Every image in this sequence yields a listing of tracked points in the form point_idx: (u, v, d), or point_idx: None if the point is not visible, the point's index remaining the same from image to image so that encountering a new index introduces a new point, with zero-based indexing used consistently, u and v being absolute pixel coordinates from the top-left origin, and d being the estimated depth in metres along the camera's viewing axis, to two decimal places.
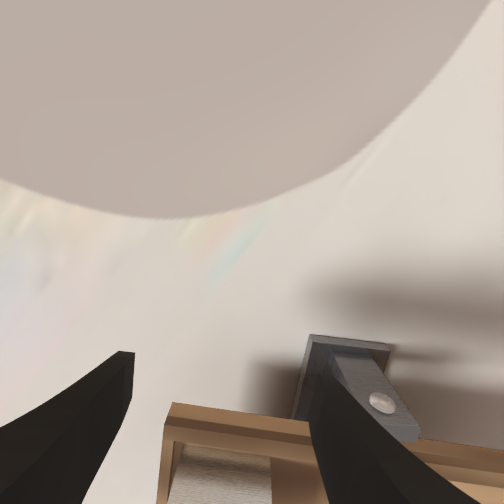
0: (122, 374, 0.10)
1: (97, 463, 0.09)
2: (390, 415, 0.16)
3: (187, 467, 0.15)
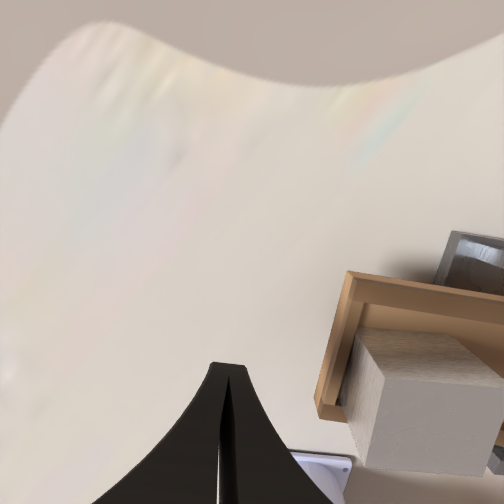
0: (226, 385, 0.10)
1: None
2: None
3: (371, 340, 0.14)
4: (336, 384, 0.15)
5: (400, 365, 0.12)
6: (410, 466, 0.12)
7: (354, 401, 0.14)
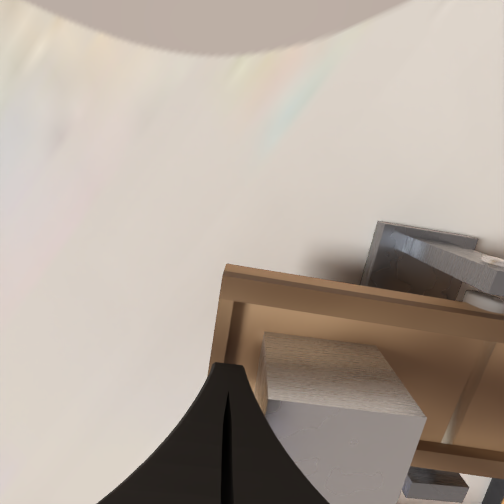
0: None
1: None
2: None
3: (278, 350, 0.12)
4: None
5: (296, 383, 0.10)
6: None
7: None
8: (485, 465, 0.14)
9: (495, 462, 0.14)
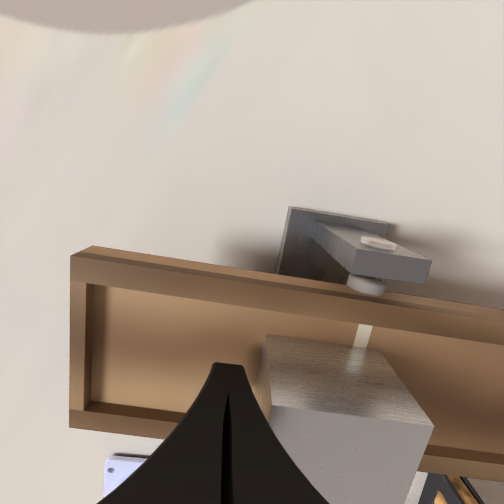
0: None
1: None
2: (389, 249, 0.12)
3: (280, 353, 0.11)
4: (79, 385, 0.12)
5: (300, 388, 0.10)
6: None
7: None
8: None
9: None
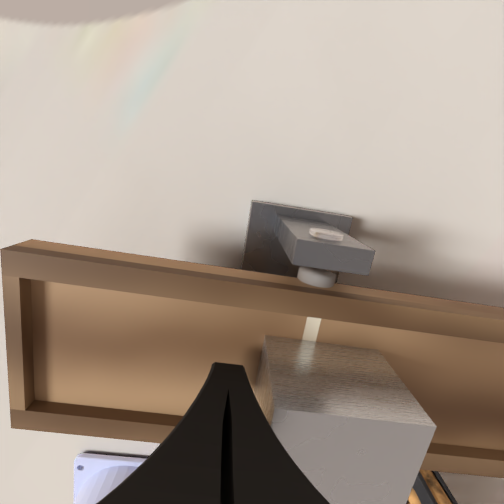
0: None
1: None
2: (333, 240, 0.12)
3: (280, 355, 0.11)
4: (18, 384, 0.12)
5: (302, 390, 0.09)
6: None
7: None
8: None
9: None
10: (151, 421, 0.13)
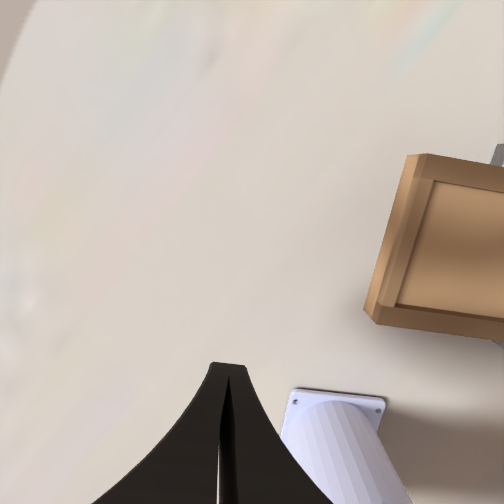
0: (226, 385, 0.10)
1: None
2: None
3: None
4: (397, 281, 0.14)
5: None
6: None
7: None
8: None
9: None
10: (492, 320, 0.15)
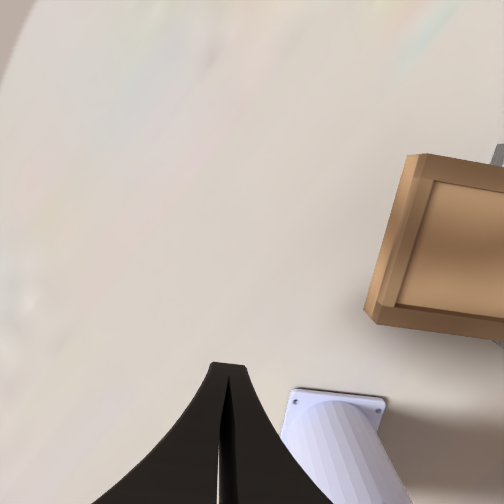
0: (226, 385, 0.10)
1: None
2: None
3: None
4: (397, 281, 0.14)
5: None
6: None
7: None
8: None
9: None
10: (492, 320, 0.15)
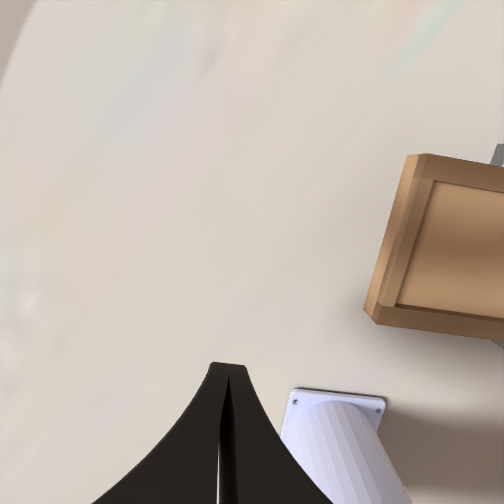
0: (226, 385, 0.10)
1: None
2: None
3: None
4: (397, 281, 0.14)
5: None
6: None
7: None
8: None
9: None
10: (492, 320, 0.15)
